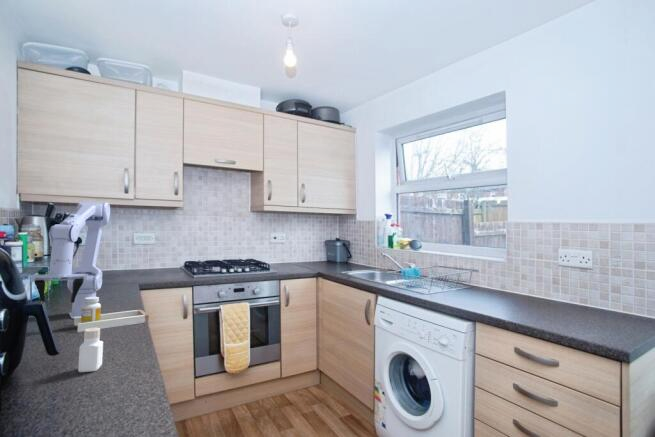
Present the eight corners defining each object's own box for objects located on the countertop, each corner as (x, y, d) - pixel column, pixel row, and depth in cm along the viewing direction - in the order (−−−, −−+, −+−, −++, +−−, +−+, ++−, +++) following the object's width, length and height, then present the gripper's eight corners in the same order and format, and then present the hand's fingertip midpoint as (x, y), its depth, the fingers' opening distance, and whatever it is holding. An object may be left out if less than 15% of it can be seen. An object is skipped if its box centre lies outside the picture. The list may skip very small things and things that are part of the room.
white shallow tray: (74, 324, 116) (74, 317, 116) (140, 316, 130) (141, 309, 130) (77, 332, 109) (78, 324, 109) (148, 321, 122) (148, 315, 122)
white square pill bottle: (96, 371, 80) (99, 331, 80) (77, 373, 79) (79, 332, 79) (102, 365, 84) (104, 326, 84) (84, 366, 83) (86, 327, 83)
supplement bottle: (96, 323, 119) (98, 295, 119) (102, 326, 115) (103, 297, 116) (78, 326, 115) (80, 297, 115) (83, 329, 111) (85, 300, 112)
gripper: (32, 261, 103) (28, 307, 101) (90, 261, 112) (86, 302, 111) (32, 260, 108) (27, 304, 106) (87, 260, 118) (83, 300, 116)
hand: (57, 303), depth 109 cm, fingers open, 7 cm apart
